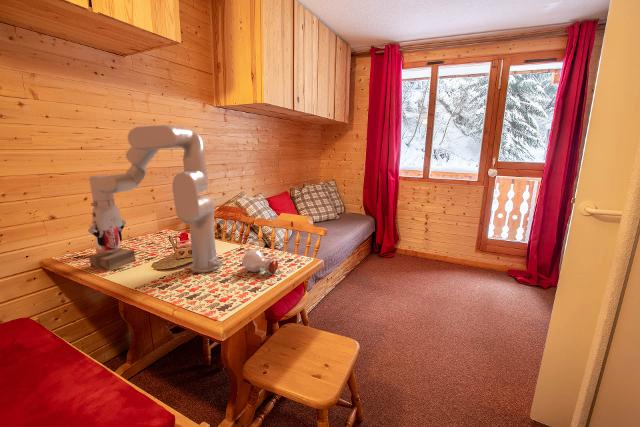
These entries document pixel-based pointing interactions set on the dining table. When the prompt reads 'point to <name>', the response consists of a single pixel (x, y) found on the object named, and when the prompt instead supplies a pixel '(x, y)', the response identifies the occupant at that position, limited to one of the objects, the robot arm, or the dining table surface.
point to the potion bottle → (259, 262)
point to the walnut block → (112, 259)
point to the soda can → (111, 239)
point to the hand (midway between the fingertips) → (110, 242)
